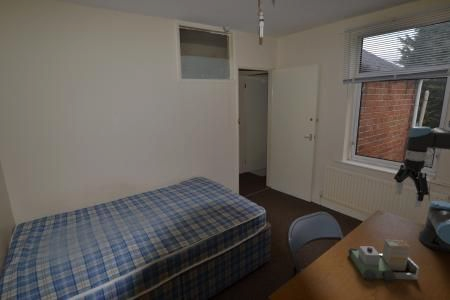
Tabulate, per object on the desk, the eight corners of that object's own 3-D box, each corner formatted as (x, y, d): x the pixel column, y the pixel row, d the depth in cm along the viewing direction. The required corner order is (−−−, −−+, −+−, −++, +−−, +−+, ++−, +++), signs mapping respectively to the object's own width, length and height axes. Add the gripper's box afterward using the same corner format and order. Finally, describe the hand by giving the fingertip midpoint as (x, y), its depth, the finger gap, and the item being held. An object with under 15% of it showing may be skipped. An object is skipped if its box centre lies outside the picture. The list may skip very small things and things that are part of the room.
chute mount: (397, 258, 112) (399, 248, 111) (417, 279, 99) (419, 268, 98) (373, 258, 113) (375, 247, 111) (390, 278, 100) (392, 267, 99)
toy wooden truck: (373, 255, 114) (376, 238, 112) (394, 281, 99) (398, 261, 96) (347, 255, 115) (350, 237, 113) (364, 280, 100) (367, 260, 97)
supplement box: (399, 264, 108) (404, 240, 105) (405, 272, 104) (410, 246, 100) (380, 262, 109) (384, 238, 106) (385, 270, 105) (390, 245, 102)
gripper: (390, 152, 122) (384, 189, 127) (427, 167, 97) (417, 212, 103) (405, 152, 121) (398, 189, 126) (445, 167, 97) (435, 212, 102)
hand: (407, 200), depth 114 cm, fingers open, 13 cm apart
